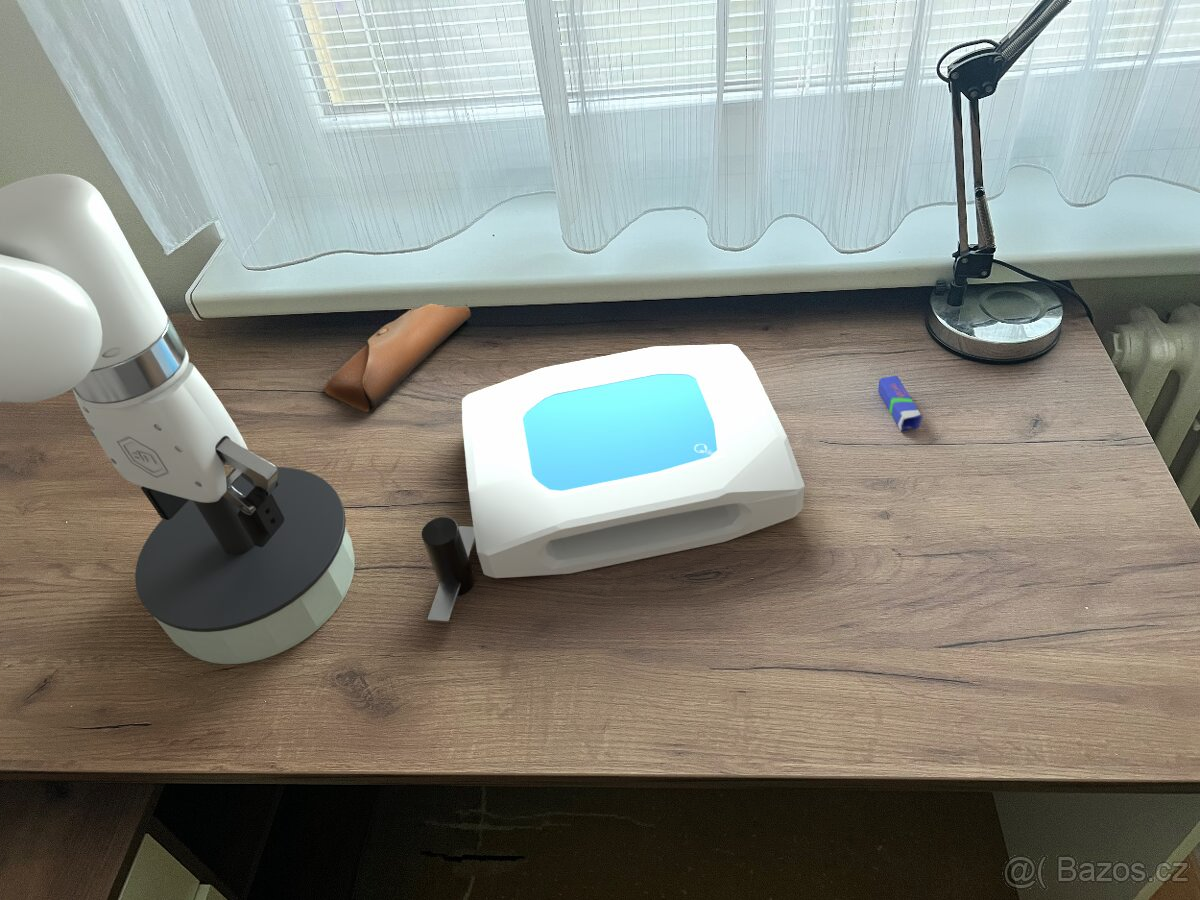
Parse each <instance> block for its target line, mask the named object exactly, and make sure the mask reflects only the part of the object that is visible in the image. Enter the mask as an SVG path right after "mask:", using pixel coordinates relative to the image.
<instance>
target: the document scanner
mask: <svg viewBox="0 0 1200 900" xmlns="http://www.w3.org/2000/svg"><path fill="white" fill-rule="evenodd" d="M461 418H462V421H461V422H462V424H461V425H462V436H463V446H464V448H463V449H464V456H465V467H466V478H467V488H468V496H469V505H470V511H471V517H472V519H471V520H472V527H474V534H475V547H476V548H475V549H476V554H477V556H478V560H479V564H480V566H481V570H482V573H483V575H484V576H487V577H490V578H493V579H501V578H502V579H504V578H522V577H536V576H551V575H568V574H569V575H570V574H574V573H579V572H584V571H589V570H594V569H599V568H604V567H608V566H609V567H610V566H614V565H619V564H623V563H627V562H628V563H629V562H634V561H638V560H642V559H647V558H653V557H658V556H662V555H669V554H672V553H678V552H681V551H686V550H691V549H697V548H701V547H706V546H710V545H716V544H721V543H725V542H729V541H731V540H734V539H737V538H739V537H742V536H745V535H748V534H750V533H753V532H757V531H759V530H762V529H765V528H768V527H771V526H773V525H776V524H779V523H782V522H784V521H787V520H791V519H794V518H795V517H796V516H797V515H798V514H799V513H801V512H802V510H803V509H804V501H805V500H804V499H805V491H806V490H805V488H806V485H805V482H804V480H803V477H802V474H801V471H800V468H799V466H798V463H797V460H796V457H795V455H794V451H793V449H792V445H791V443H790V440H789V438H788V435H787V433H786V431H785V429H784V427H783V425H782V423H781V421H780V419H779V417H778V415H777V413H776V410H775V409H774V407H773V404H772V402H771V400H770V398H769V396H768V394H767V392H766V390H765V388H764V386H763V384H762V382H761V380H760V378H759V376H758V374H757V372H756V370H755V367H754V366H753V364H752V363H751V361H750V360H749V359H748V358H747V356H746V355H745V354H744V353H743V351H742V350H741V349H740V348H739V346H737V345H734V344H732V343H729V344H728V343H726V344H724V343H723V344H697V345H694V344H693V345H669V346H663V345H662V346H650V347H646V348H640V349H634V350H630V351H624V352H620V353H619V352H618V353H614V354H613V353H612V354H609V355H605V356H604V355H603V356H598V357H594V358H587V359H582V360H578V361H571V362H566V363H562V364H555V365H550V366H546V367H545V366H544V367H541V368H538V369H535V370H532V371H530V372H527V373H524V374H522V375H521V374H520V375H519V376H516V377H513V378H511V379H508V380H504V381H502V382H499V383H496V384H494V385H491V386H488V387H487V386H486V387H485V388H482V389H479V390H477V391H473V392H471V393H468V394H467V395H465V396H464V397H463V398H462V399H461Z"/></svg>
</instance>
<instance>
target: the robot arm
mask: <svg viewBox="0 0 1200 900" xmlns="http://www.w3.org/2000/svg"><path fill="white" fill-rule="evenodd" d="M170 319H171V318H170V317H169V315H168V314H167V313H166V310H165V308H164V306H163V305H162V303H161V301H160V299H159V297H158V296H157V294H156V292H155V290H154V288H153V287H152V285H151V282H150V281H149V279H148V277H147V275H146V273H145V272H144V269H143V268H142V266H141V264H140V262H139V260H138V259H137V257H136V255H135V253H134V251H133V250H132V248H131V246H130V244H129V242H128V240H127V239H126V236H125V235H124V233H123V231H122V229H121V227H120V224H118V222H117V220H116V218H115V216H114V214H113V212H112V211H111V208H110V206H109V205H108V203H107V202H106V200H105V199H104V197H103V195H102V193H100V191H99V190H98V189H97V188H96V187H95V185H93V184H92V183H91V182H89V181H87V180H85V179H84V178H82V177H79V176H77V175H73V174H66V173H48V174H41V175H36V176H31V177H26V178H23V179H20V180H17V181H15V182H11V183H9V184H7V185H5V186H2V187H1V188H0V403H14V404H15V403H17V404H18V403H19V404H21V403H22V404H27V403H29V404H30V403H37V402H41V401H46V400H50V399H53V398H56V397H58V396H61V395H63V394H65V393H67V392H68V391H70V390H72V393H73V395H74V397H75V400H76V402H77V405H78V407H79V409H80V411H81V413H82V415H83V417H84V419H85V421H86V422H87V424H88V426H89V428H90V430H91V435H92V437H94V438H95V439H96V440H97V441H98V443H99V445H100V446H101V448H102V450H103V452H104V454H105V455H106V456H107V457H108V459H109V461H110V463H111V464H112V465H113V468H115V470H116V471H117V472H118V474H119V475H120V477H122V478H123V479H124V480H126V481H127V482H130V483H132V484H134V485H136V486H141V487H140V489H141V491H142V492H143V494H144V495H145V496H146V498H147V500H148V501H149V502H150V504H151V505H152V507H153V508H154V510H155V511H156V513H157V514H158V515H159V517H160V518H161V520H162V519H166V520H169V519H171V518H173V516H174V515H175V514H176V513H177V512H178V511H179V510H180V509H181V508H182V507H183V506H184V505H185V504H186V503H187V502H188V500H189V499H190V500H194V501H198V502H205V503H211V502H216V501H218V500H219V499H220V497H222V496H223V497H225V498H226V499H227V500H228V501H230V502H231V503H232V504H233V505H235V506H236V507H237V508H238V509H239V510H240V511H239V512H238V514H237V516H238V518H239V519H240V521H241V523H242V524H243V526H244V528H245V529H246V531H247V533H248V534H249V536H250V538H251V540H252V541H253V543H254V545H255V546H258V547H264V546H265V545H266V543H267V542H268V541H269V540H270V538H271V537H272V536H273V535H274V534H275V532H276V531H277V530H278V529H279V528H280V526H281V525H282V524H283V522H284V516H283V514H282V512H281V510H280V509H279V507H278V505H277V503H276V501H275V499H274V497H273V496H272V494H271V493H272V492H273V491H274V489H275V488H276V487H277V486H278V482H277V478H278V469H277V468H276V467H277V466H275V464H273V463H271V462H269V461H268V460H266V459H265V458H263V457H261V456H259V455H258V454H255V453H254V452H253V451H250V450H249V449H248V446H247V444H246V442H245V440H244V438H243V436H242V434H241V433H240V430H239V428H237V427H238V426H236V423H235V422H234V421H233V419H232V417H231V416H230V414H229V413H228V411H227V410H226V408H225V406H224V405H223V404H222V403H223V402H222V401H221V400H220V398H219V397H218V396H217V394H216V393H215V392H214V390H213V389H212V387H211V386H210V384H209V383H208V382H207V380H206V379H205V378H204V377H203V375H202V374H201V373H200V371H199V370H198V369H197V368H196V366H195V365H194V363H192V362H191V361H189V359H190V357H189V352H188V351H187V349H186V347H185V345H184V343H183V341H182V339H181V338H180V336H179V334H178V332H177V330H176V328H175V326H174V325H173V322H172V321H171V320H170ZM225 465H227V466H230V467H232V468H233V469H232V471H230V473H228V475H226V468H225ZM240 475H241V476H242V477H243V478H245V479H246V480H247V481H248V482H249V483H251V484H252V485H253V486H254V488H253V489H252V490H251V492H250V493H249V494H248V495H247V496H246V497H244V496H243V495H242V494H241V493H239V492H238V491H237V490H236V489H234V488H233V487H232V486H231V485H232V484H233V483H234V482H235V481H236V479H237V478H238V477H239V476H240Z"/></svg>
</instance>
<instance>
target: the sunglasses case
mask: <svg viewBox="0 0 1200 900" xmlns="http://www.w3.org/2000/svg"><path fill="white" fill-rule="evenodd" d="M430 303H431V304H430ZM430 303H427V304H425V306H424V305H422V306H423V307H420V308H418V309H413V308H411V310H410V309H409V310H407V311H406V312H405V313H403V314H401V315H399V317H398V318H396V319H395V320H393V321H391V322H388V323H386V324H385V325H383V326H382V327H381V328H380V329H378V330H377V331H376V332H375V333H374V334H373V335H371V336H370V337H369V338H368V339H367V341H366V345H364V346H363V347H362V348H361V349H360V350H358V351H357V352H356V353H355V354H354V355H352V356H351V357H350V358H349V359H348V360H347V361H346V362H345V363H344V364H343V365H342V366H341V367H340V368H339V369H338V370H337V371H336V372H335V373H334V374H333V375H332V376H331V377H330V378H329V379H328V380H327V381H326V383H325V384H324V386H323V387H322V389H323V392H324V394H325V395H327V396H329V397H331V398H332V399H334V400H336V401H338V402H341V403H343V404H345V405H347V406H349V407H351V408H353V409H355V410H357V411H361V412H363V413H366V414H369V413H372V412H373V411H374V410H375V409H376V408H378V407H380V405H381V404H382V403H383V402H384V401H385V400H386V399H387V398H389V396H390V395H391V394H392V392H393V391H394V390H395V389H397V387H398V386H399V385H400V384H401V382H403V381H405V379H406V378H407V377H408V376H409V375H410V373H412V371H413V370H414V369H415V368H417V367H418V366H419V365H420V364H421V363H422V362H423V361H424V360H426V358H428V356H430V354H431V353H432V352H434V350H435V349H436V348H438V346H440V345H442V343H443V342H444V341H446V340H447V338H449V337H450V336H451V335H452V334H453V333H454V332H455V331H456V330H457V329H458V328H460V327H461V326H462V325H463V324H464V323H465V322H466V321H468V320H469V319H470V317H471V316H472V313H471V309H470V306H468V307H444V306H445V305H437V304H432V303H433V302H430Z"/></svg>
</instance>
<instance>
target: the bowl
mask: <svg viewBox="0 0 1200 900" xmlns="http://www.w3.org/2000/svg"><path fill="white" fill-rule="evenodd" d="M355 566H356V557H355V553H354V546H353V540H352V538H351V536H350V534H349V532H348V530H347V527H346V526H345V533H344V537H343V541H342V544H341V546H340V549H339V551H338V553H337V555H336V557H335V559H334V560H333V562H332V564H331V565H330V567H329V568H328V569H327V571H326V572H325V573H324V575H323V576H322V577H321V578H320V579H319V580H318V581H317V582H316V583H315V584H314V585H313V586H312V587H311V588H310V589H309V590H308V591H307V592H306V593H305V594H303V595H302V596H301V597H299V598H298V599H297V600H295V601H294V602H293V603H291V604H290V605H288V606H286V607H285V608H283V609H282V610H280V611H278V612H276V613H274V614H272V615H270V616H268V617H266V618H264V619H261V620H259V621H256V622H254V623H251V624H248V625H245V626H241V627H238V628H234V629H229V630H223V631H214V632H192V631H186V630H181V629H177V628H174V627H171V626H169V625H167V624H165V623H163V622H161V621H159V620H158V619H157V618H155V617H154V616H153V615H152V617H153V618H154V620H155V621H157V623H158V624H159V625H160V627H161V628H162V629H163V630H164V632H165V633H166V634H167V636H168V637H169V638H170V639H171V641H172V642H173V643H174V645H175V646H177V647H179V648H180V649H182V650H183V651H184V652H186V653H187V654H189V655H190V656H191V657H194V658H196V659H199V660H201V661H204V662H208V663H212V664H219V665H239V664H248V663H253V662H257V661H262V660H265V659H268V658H270V657H274V656H277V655H279V654H280V653H283V652H285V651H287V650H290V649H291V648H293V647H295V646H296V645H299V644H300V643H302V642H303V641H304V640H306V639H308V638H309V637H310V636H312V635H313V634H314V633H315V632H317V631H318V630H319V629H320V628H321V627H323V625H325V623H326V622H328V621H329V619H331V617H332V616H333V615H334V614H335V612H336V611H337V610H338V609H339V607H340V606H341V604H342V603H343V601H344V600H345V598H346V596H347V594H348V592H349V589H350V588H351V585H352V581H353V578H354V573H355Z"/></svg>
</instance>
